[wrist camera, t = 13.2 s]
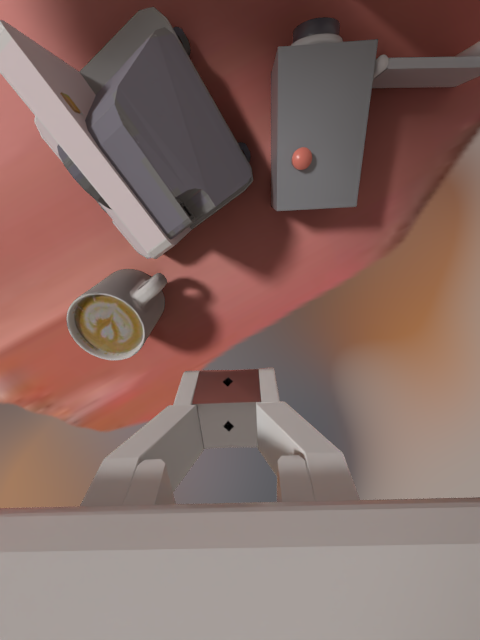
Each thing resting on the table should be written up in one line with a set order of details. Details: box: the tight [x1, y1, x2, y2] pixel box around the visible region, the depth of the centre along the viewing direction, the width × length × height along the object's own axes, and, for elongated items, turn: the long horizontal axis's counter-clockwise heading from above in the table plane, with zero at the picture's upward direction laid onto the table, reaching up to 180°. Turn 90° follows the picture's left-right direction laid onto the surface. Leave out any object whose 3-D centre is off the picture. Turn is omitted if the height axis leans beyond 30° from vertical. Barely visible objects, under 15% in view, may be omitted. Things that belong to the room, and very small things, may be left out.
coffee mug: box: [67, 269, 167, 360], centre depth 39 cm, size 13×10×10 cm
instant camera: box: [0, 7, 253, 259], centre depth 28 cm, size 21×21×15 cm
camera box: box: [271, 17, 378, 211], centre depth 30 cm, size 16×9×8 cm, turn 3°
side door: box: [372, 41, 480, 88], centre depth 26 cm, size 12×3×12 cm, turn 91°
